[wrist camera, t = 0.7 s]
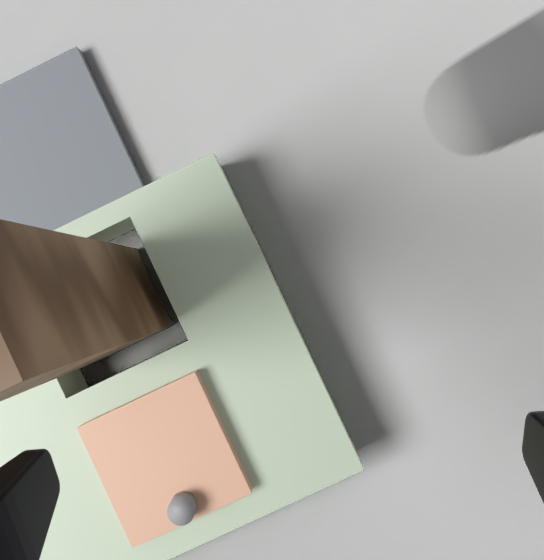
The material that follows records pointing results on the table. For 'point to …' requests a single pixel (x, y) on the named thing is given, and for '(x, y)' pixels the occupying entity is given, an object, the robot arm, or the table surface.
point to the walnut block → (68, 304)
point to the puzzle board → (185, 394)
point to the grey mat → (59, 146)
